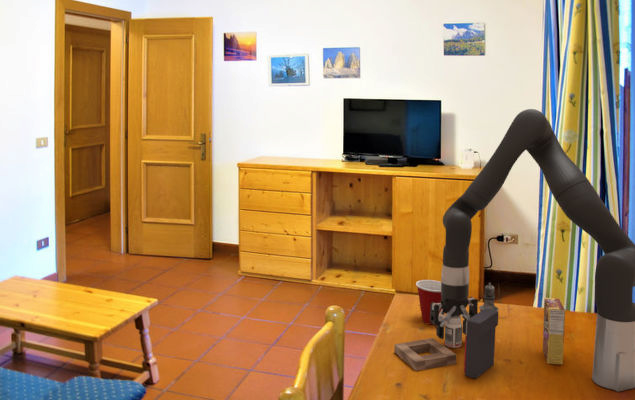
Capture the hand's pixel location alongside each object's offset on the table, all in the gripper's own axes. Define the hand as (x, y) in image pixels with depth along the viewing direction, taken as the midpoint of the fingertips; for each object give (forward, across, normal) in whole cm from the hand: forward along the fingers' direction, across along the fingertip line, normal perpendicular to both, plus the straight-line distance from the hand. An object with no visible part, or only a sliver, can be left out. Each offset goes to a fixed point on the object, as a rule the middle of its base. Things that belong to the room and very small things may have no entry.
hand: (453, 335), depth 179 cm
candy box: (+3, +20, -17) cm, 26 cm away
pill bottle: (+3, 0, 0) cm, 3 cm away
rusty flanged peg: (+3, +21, +13) cm, 25 cm away
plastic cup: (+3, +4, +18) cm, 19 cm away
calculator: (+3, -2, -16) cm, 17 cm away
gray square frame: (+3, -12, -5) cm, 13 cm away
